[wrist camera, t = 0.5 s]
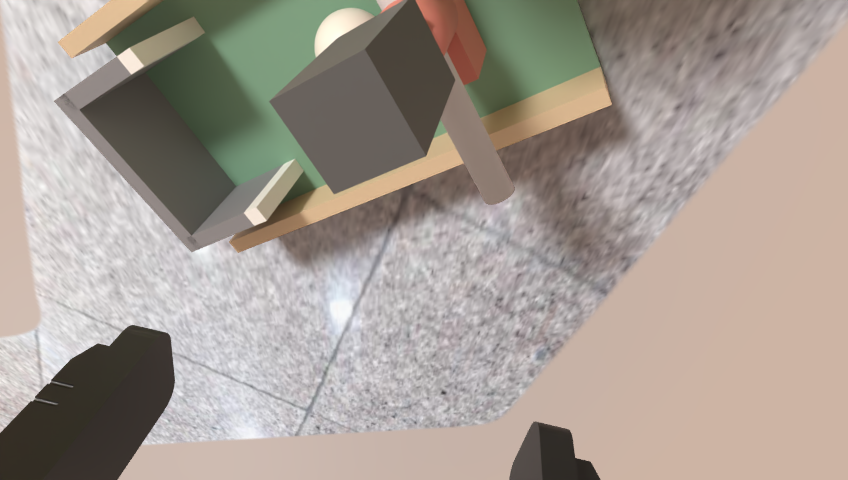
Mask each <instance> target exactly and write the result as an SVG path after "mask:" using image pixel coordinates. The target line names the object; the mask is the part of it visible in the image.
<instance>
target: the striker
mask: <svg viewBox="0 0 848 480" xmlns="http://www.w3.org/2000/svg"><path fill="white" fill-rule="evenodd" d="M376 1H377V3H378V5H379V7H380V8H381V10H382V12H381V13H380V14H378V15H377V16H375V17H373V18H371V19H370V20H368V21H366V22H364V23H363V24H361V25H359V26H357V27H356V28H354V29H352V30H350V31H349V32H347V33H345V34H343V35H342V36H340V37H338V38H337V39H336V40H335V41H334V42H332V43H331V44H330V45H329V46H328V47H327V48H326V49H325V50H324V51H323V52H322V53H321V54H319V55H318V56H317V57H316V58H315V59H314V60H313V61H312V62H311V63H310V64H309V65H308V66H306V67H305V68H304V69H303V70H302V71H301V72H300V73H299V74H298V75H297V76H296V77H295V78H294V79H292V80H291V81H290V82H289V83H288V84H287V85H286V86H285V87H284V88H283V89H282V90H281V91H279V92H278V93H277V94H276V95H275V96H274V97H273V98H272V99H271V100H270V101H269V102H270V104H271V105H272V106H273V108H274V109H275V111H276V112H277V114H278V115H279V116H280V118H281V119H282V121H283V122H284V124H285V125H286V126H287V128H288V129H289V131H290V132H291V134H292V135H293V137H294V138H295V139H296V141H297V142H298V144H299V145H300V147H301V148H302V149H303V151H304V152H305V154H306V155H307V157H308V158H309V159H310V161H311V162H312V164H313V165H314V167H315V168H316V169H317V171H318V172H319V174H320V175H321V177H322V178H323V179H324V181H325V182H326V184H327V185H328V187H329V188H330V189H331V191H332V192H333V194H337V193H339V192H341V191H344V190H346V189H349V188H351V187H353V186H356V185H358V184H361V183H363V182H365V181H368V180H370V179H373V178H375V177H377V176H380V175H382V174H385V173H387V172H389V171H392V170H394V169H397V168H399V167H401V166H404V165H406V164H409V163H411V162H414V161H416V160H418V159H421V158H423V157H426V156H427V153H428V150H429V148H430V145H431V142H432V140H433V137H434V135H435V132H436V129H437V127H438V124H439V122H440V120H441V122H442V123H443V125H444V127H445V129H446V131H447V133H448V135H449V136H450V138H451V140H452V142H453V144H454V146H455V148H456V149H457V151H458V153H459V155H460V157H461V159H462V161H463V162H464V164H465V166H466V168H467V170H468V172H469V174H470V175H471V177H472V179H473V181H474V183H475V185H476V187H477V188H478V190H479V192H480V194H481V196H482V198H483V200H484V201H485V203H486V204H489V205H493V204H497V203H500V202H502V201H504V200H506V199H507V198H509V197H510V196H511V195H512V194H513V192H514V190H515V187H514V185H513V183H512V181H511V179H510V177H509V175H508V173H507V171H506V169H505V167H504V165H503V163H502V161H501V159H500V157H499V155H498V153H497V151H496V149H495V147H494V145H493V143H492V141H491V139H490V137H489V135H488V133H487V131H486V129H485V127H484V125H483V123H482V121H481V119H480V117H479V115H478V113H477V111H476V109H475V107H474V105H473V103H472V101H471V99H470V97H469V95H468V93H467V91H466V89H465V87H464V85H466V84H468V83H470V82H473V81H475V80H477V79H479V75H480V72H481V68H482V65H483V61H484V58H485V54H486V51H487V49H486V47H485V45H484V42H483V40H482V38H481V36H480V34H479V32H478V29H477V27H476V25H475V23H474V21H473V18H472V16H471V14H470V12H469V10H468V8H467V5H466V3H465V1H464V0H376Z"/></svg>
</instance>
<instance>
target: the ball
mask: <svg viewBox="0 0 848 480" xmlns="http://www.w3.org/2000/svg"><path fill="white" fill-rule="evenodd" d="M373 17H375V16H374V15H372V14H371V13H369V12H367V11H365V10H362V9H358V8H344V9H340V10H337V11H335V12H333V13H331V14H330V15H329V16H328V17H326V18H325V19H324V21H323V22H322V23H321V25H320V26H319V28H318V31H317V33H316V37H315V45H314V48H315V56H316V57H317V56H318V55H319V54H321V53H322V52H323V51H324V50H325V49H326V48H327V47H328V46H329V45H330V44H331V43H332V42H334V41H335V40H336V39H337V38H338V37H340V36H342V35H343V34H345V33H347V32H349V31H350V30H352V29H354V28H356V27H357V26H359V25H361V24H363V23H364V22H366V21H368V20H370V19H371V18H373Z"/></svg>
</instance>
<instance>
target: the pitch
mask: <svg viewBox="0 0 848 480" xmlns="http://www.w3.org/2000/svg"><path fill="white" fill-rule="evenodd" d="M464 1H465V3H466V5H467V8H468V10H469V12H470V14H471V16H472V18H473V21H474V23H475V25H476V27H477V29H478V32H479V34H480V36H481V38H482V40H483V42H484V45H485V47H486V49H487V51H486V54H485V58H484V61H483V65H482V68H481V72H480V75H479V79H477V80H475V81H473V82H470V83H468V84H466V85H464V87H465V89H466V91H467V93H468V95H469V97H470V99H471V101H472V103H473V105H474V107H475V109H476V111H477V113H478V115H479V117H480V119H481V121H482V123H483V125H484V127H485V129H486V131H487V133H488V135H489V137H490V139H491V141H492V143H493V145H494V147H495V149H496V150H499V149H501V148H504V147H506V146H509V145H512V144H514V143H517V142H519V141H522V140H524V139H527V138H529V137H532V136H534V135H537V134H539V133H542V132H544V131H547V130H549V129H552V128H554V127H557V126H560V125H562V124H565V123H567V122H570V121H572V120H575V119H577V118H580V117H582V116H585V115H587V114H590V113H592V112H595V111H597V110H600V109H602V108H605V107H607V106H610V105H612V103H611V99H610V95H609V91H608V87H607V83H606V80H605V76H604V73H603V70H602V68H601V65H600V62H599V59H598V57H597V54H596V51H595V48H594V45H593V43H592V40H591V37H590V34H589V31H588V29H587V26H586V23H585V20H584V17H583V15H582V12H581V9H580V6H579V3H578V1H577V0H464ZM344 8H358V9H362V10H365V11H367V12H369V13H371V14H372V15H374V16H377V15H378V14H380V13H381V12H382V10H381V8H380V7H379V5H378V3H377V1H376V0H111V1H109V2H108V3H107V4H106V5H104V6H103V7H102V8H101V9H99V10H98V11H97V12H95V13H94V14H93V15H92V16H90V17H89V18H88V19H87V20H85V21H84V22H83V23H81V24H80V25H79V26H78V27H76V28H75V29H74V30H73V31H71V32H70V33H69V34H67V35H66V36H65V37H64V38H62V39H61V40H60V41H59V42H58V43H59V44H60V45H61V47H62V48H63V49H64V50H65V51H66V52H67V54H68V55H69V56H70V57H71V58H73V57H76V56H78V55H80V54H82V53H85V52H87V51H89V50H91V49H93V48H96V47H98V46H100V45H102V44H105V43H106V44H107V45H108V46H109V47H110V49H111V50H112V51H113V52H114V53H115V55H116V56H117V57H116V58H114V59H113V60H111V61H110V62H108V63H107V64H106V65H104V66H103V67H101V68H100V69H99V70H97V71H96V72H94V73H93V74H92V75H90V76H89V77H87V78H86V79H84V80H83V81H82V82H80V83H79V84H77V85H76V86H75V87H73V88H72V89H70V90H69V91H68V92H66V93H65V94H63V95H62V96H60V97H59V98H58V99H56V100H55V101H54V102H55V103H56V104H57V105H58V106H59V107H60V108H61V110H62V111H63V112H64V113H65V114H66V115H67V116H68V117H69V118H70V119H71V121H72V122H73V123H74V124H75V125H76V126H77V127H78V128H79V129H80V130H81V131H82V133H83V134H84V135H85V136H86V137H87V138H88V139H89V140H90V141H91V142H92V144H93V145H94V146H95V147H96V148H97V149H98V150H99V151H100V152H101V153H102V155H103V156H104V157H105V158H106V159H107V160H108V161H109V162H110V163H111V164H112V166H113V167H114V168H115V169H116V170H117V171H118V172H119V173H120V174H121V175H122V176H123V178H124V179H125V180H126V181H127V182H128V183H129V184H130V185H131V186H132V187H133V189H134V190H135V191H136V192H137V193H138V194H139V195H140V196H141V197H142V198H143V200H144V201H145V202H146V203H147V204H148V205H149V206H150V207H151V208H152V209H153V211H154V212H155V213H156V214H157V215H158V216H159V217H160V218H161V219H162V220H163V222H164V223H165V224H166V225H167V226H168V227H169V228H170V229H171V230H172V231H173V232H174V234H175V235H176V236H177V237H178V238H179V239H180V240H181V241H182V242H183V243H184V245H185V246H186V247H187V248H188V249H189V250H190V251H191V252H193V251H196V250H198V249H200V248H203V247H205V246H208V245H210V244H212V243H215V242H217V241H220V240H222V239H224V238H227V237H229V236H232V235H234V234H235V235H234V236H233V238H232V239H231V240H230V241H229V243H230V244H231V245H232V246H233V247H234V248H235V250H236V251H237V252H238V253H239V252H241V251H244V250H246V249H249V248H251V247H254V246H256V245H259V244H262V243H264V242H267V241H269V240H272V239H274V238H277V237H279V236H282V235H284V234H287V233H289V232H292V231H294V230H297V229H299V228H302V227H304V226H307V225H309V224H312V223H315V222H317V221H320V220H322V219H325V218H327V217H330V216H332V215H335V214H337V213H340V212H342V211H345V210H347V209H350V208H352V207H355V206H357V205H360V204H363V203H365V202H368V201H370V200H373V199H375V198H378V197H380V196H383V195H385V194H388V193H390V192H393V191H395V190H398V189H400V188H403V187H405V186H408V185H411V184H413V183H416V182H418V181H421V180H423V179H426V178H428V177H431V176H433V175H436V174H438V173H441V172H443V171H446V170H448V169H451V168H453V167H456V166H458V165H461V164H464V162H463V161H462V159H461V157H460V155H459V153H458V151H457V149H456V148H455V146H454V144H453V142H452V140H451V138H450V136H449V135H448V133H447V131H446V129H445V127H444V125H443V123H442V122H441V120H440V122H439V124H438V127H437V129H436V132H435V135H434V137H433V140H432V142H431V145H430V148H429V150H428V153H427V156H426V157H423V158H421V159H418V160H416V161H414V162H411V163H409V164H406V165H404V166H401V167H399V168H397V169H394V170H392V171H389V172H387V173H385V174H382V175H380V176H377V177H375V178H373V179H370V180H368V181H365V182H363V183H361V184H358V185H356V186H353V187H351V188H349V189H346V190H344V191H341V192H339V193H337V194H333V192H332V191H331V189H330V188H329V187H328V185H327V184H326V182H325V181H324V179H323V178H322V177H321V175H320V174H319V172H318V171H317V169H316V168H315V167H314V165H313V164H312V162H311V161H310V159H309V158H308V157H307V155H306V154H305V152H304V151H303V149H302V148H301V147H300V145H299V144H298V142H297V141H296V139H295V138H294V137H293V135H292V134H291V132H290V131H289V129H288V128H287V126H286V125H285V124H284V122H283V121H282V119H281V118H280V116H279V115H278V114H277V112H276V111H275V109H274V108H273V106H272V105H271V104H270V102H269V101H270V100H271V99H272V98H273V97H274V96H275V95H276V94H277V93H278V92H279V91H281V90H282V89H283V88H284V87H285V86H286V85H287V84H288V83H289V82H290V81H291V80H292V79H294V78H295V77H296V76H297V75H298V74H299V73H300V72H301V71H302V70H303V69H304V68H305V67H306V66H308V65H309V64H310V63H311V62H312V61H313V60H314V59H315V58H316V56H315V48H314V45H315V37H316V33H317V31H318V28H319V26H320V25H321V23H322V22H323V21H324V19H325V18H326V17H328V16H329V15H330V14H331V13H333V12H335V11H337V10H340V9H344Z"/></svg>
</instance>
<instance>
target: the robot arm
mask: <svg viewBox="0 0 848 480" xmlns="http://www.w3.org/2000/svg"><path fill="white" fill-rule="evenodd" d="M174 383H175V377H174V367H173V357H172V347H171V338H170V335H169V334H168V333H165V332H161V331H157V330H152V329H148V328H144V327H140V326H135V325H131V326H129V327H127V328H126V329H125V330H124V331H123V332H122V333H121V334H120V335H119V336H118V337H117V338H116V339H115V341H114V342H113V343H112V344H111V345H110V346H106V345H102V344H96V345H95V346H93V347H91V348H89V349H88V350H86V351H84V352H83V353H81V354H79V355H77V356H76V357H74V358H72V359H71V360H70V361H69V362H68V363H67V364H66V365H65V366H64V367H63V368H62V369H61V370H60V371H59V372H58V373H57V374H56V376H55V377H54V378H53V379H52V381H51V383H50V384H47V385H46V386H45V387H44V388H43V389H42V390H41V391H40V392H39V393H38V394H37V395H36V396H35V400H34V401H33V402H32V401H31V402H30V403H29V404H28V405H27V406H26V407H25V408H24V409H23V410H22V411H21V412H20V413H19V414H18V415H17V416H16V417H15V418H14V419H13V420H12V421H11V422H10V424H9V425H8V426H7V427H6V428H5V429H4V430H3V431H2V432H1V433H0V480H117V479H118V478H119V476H120V475H121V473H122V472H123V470H124V469H125V468H126V466H127V465H128V463H129V462H130V460H131V459H132V457H133V456H134V454H135V453H136V451H137V450H138V448H139V447H140V445H141V444H142V442H143V441H144V439H145V438H146V436H147V435H148V434H149V432H150V431H151V429H152V428H153V426H154V425H155V423H156V422H157V420H158V419H159V417H160V416H161V414H162V413H163V411H164V410H165V408H166V407H167V405H168V403H169V401H170V398H171V396H172V393H173V389H174ZM510 480H600V478H599V476H598V475H597V473H596V471H595V469H594V467H593V465H592V464H591V462H589V461H585V460H581V459H577V458H575V454H574V446H573V439H572V434H571V432H570V430H568V429H565V428H561V427H556V426H552V425H548V424H544V423H539V422H533V424H532V425H531V427H530V429H529V431H528V433H527V435H526V437H525V439H524V441H523V443H522V446H521V448H520V450H519V452H518V454H517V456H516V458H515V460H514V462H513V465H512V469H511V473H510Z"/></svg>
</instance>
